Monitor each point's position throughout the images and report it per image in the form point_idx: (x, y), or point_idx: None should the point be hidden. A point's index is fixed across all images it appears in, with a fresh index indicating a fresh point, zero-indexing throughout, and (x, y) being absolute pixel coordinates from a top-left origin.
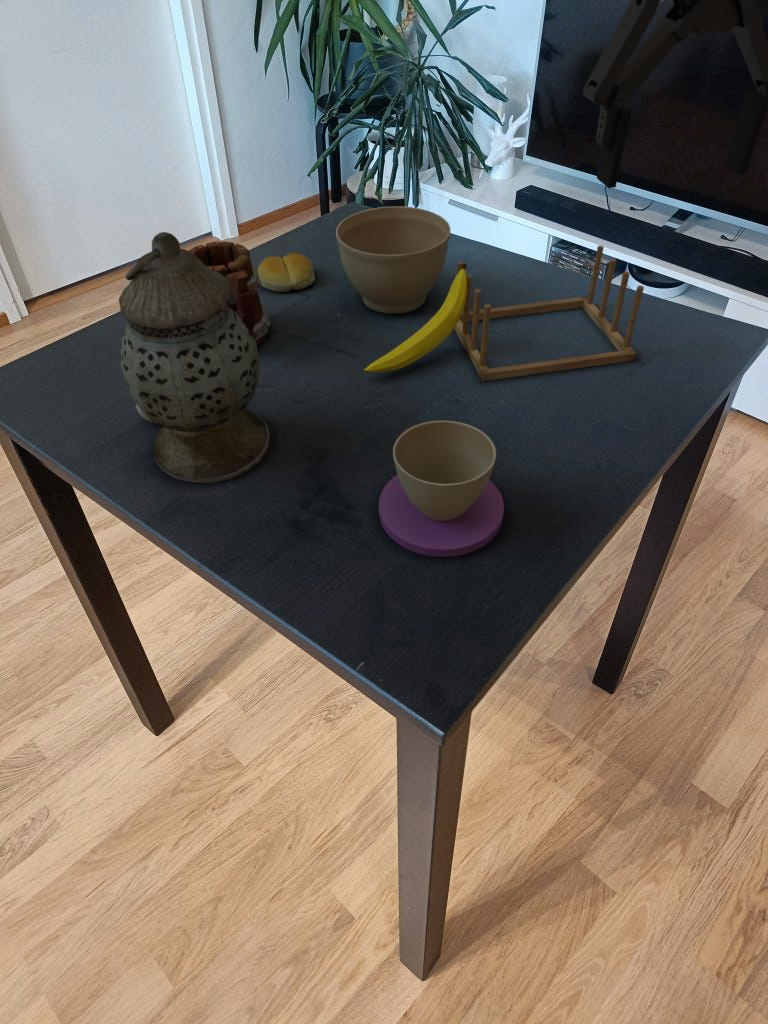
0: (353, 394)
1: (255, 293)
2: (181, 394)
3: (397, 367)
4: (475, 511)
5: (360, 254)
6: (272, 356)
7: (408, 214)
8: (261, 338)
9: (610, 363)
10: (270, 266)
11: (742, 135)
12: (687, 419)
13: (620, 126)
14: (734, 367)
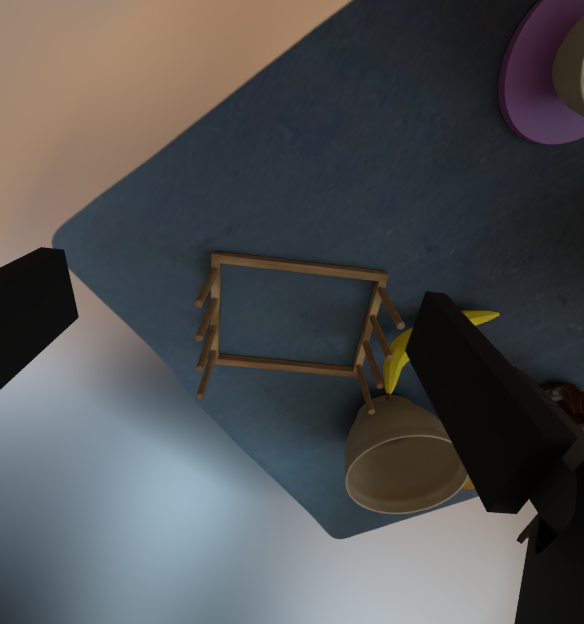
0: (511, 294)
1: None
2: None
3: (462, 311)
4: (559, 29)
5: None
6: (536, 370)
7: (365, 500)
8: None
9: (241, 254)
10: None
11: (7, 331)
12: (210, 121)
13: (538, 396)
14: (103, 198)
